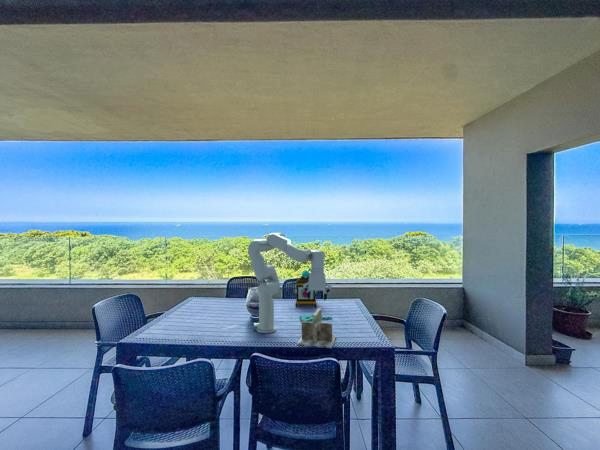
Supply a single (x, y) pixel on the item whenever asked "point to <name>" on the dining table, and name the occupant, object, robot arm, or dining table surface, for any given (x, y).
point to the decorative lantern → (304, 291)
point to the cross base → (319, 343)
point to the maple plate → (316, 323)
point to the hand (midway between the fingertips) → (317, 299)
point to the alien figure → (310, 317)
